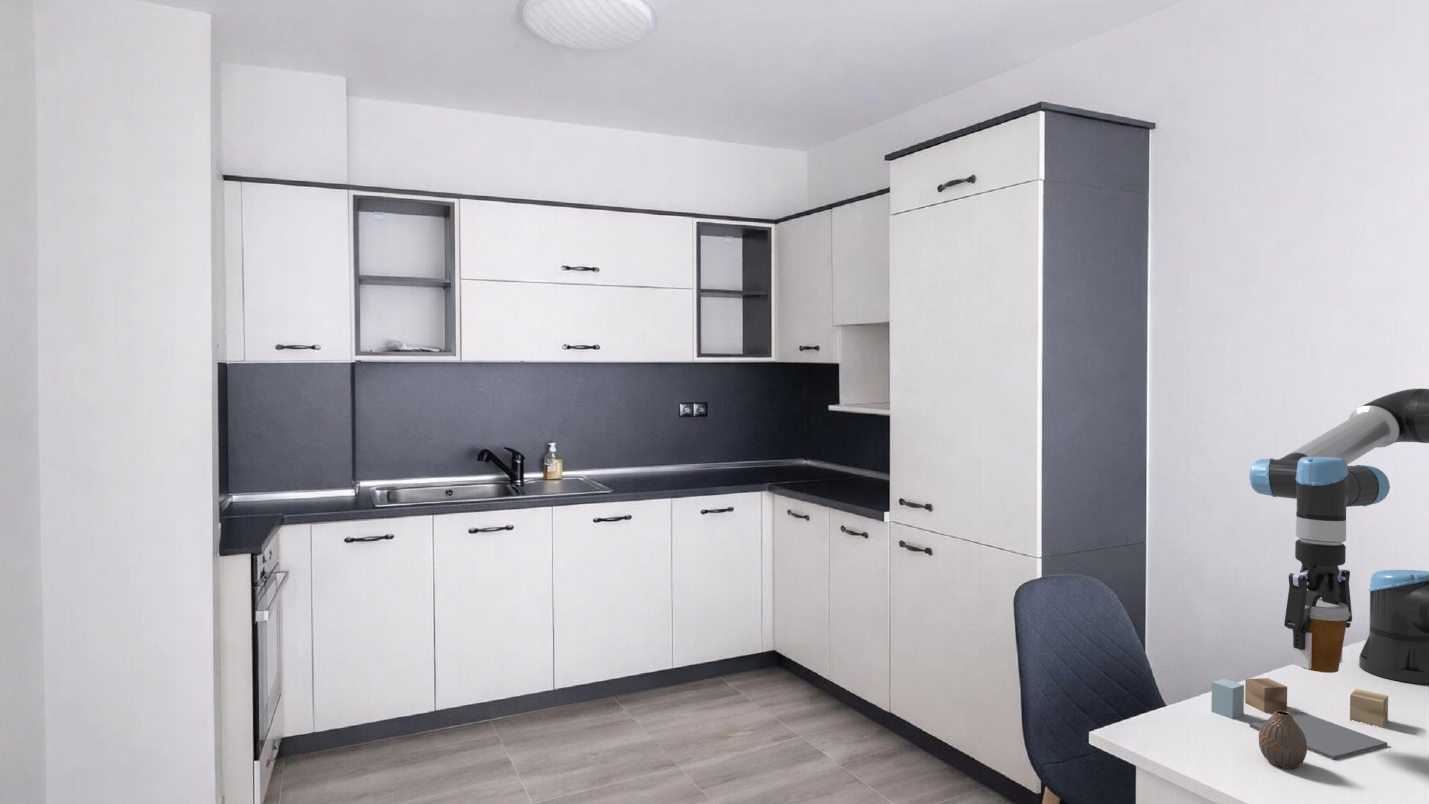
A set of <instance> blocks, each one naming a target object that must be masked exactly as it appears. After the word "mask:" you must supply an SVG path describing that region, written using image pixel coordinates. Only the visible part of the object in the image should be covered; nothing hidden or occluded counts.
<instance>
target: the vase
mask: <svg viewBox="0 0 1429 804" xmlns="http://www.w3.org/2000/svg"><path fill="white" fill-rule="evenodd" d="M1291 714H1292V713H1291V712H1289V711H1281V710H1277V711H1275V712H1273V713H1272V715H1271V716H1270V717H1269V718H1268V719H1266V720H1267V721H1266V722H1264V724H1263V725H1262V727H1261V729H1260V731H1259V732H1258V747H1259V749H1260V751H1261V752H1260V753H1261V754H1262V755H1263V757H1264V759H1266V760H1267V761H1268V762H1269V763H1270V764H1272V765H1274V766H1276V767H1279V768H1283V767H1284V768H1285V769H1295V768H1297V767H1299V766H1300V765H1301V764H1302V763H1304V761H1305V759H1306V756H1307V753H1308V750H1307V741H1306V738H1305V735H1304V733H1303V731H1302V730H1301V728H1300V727H1299V726H1298V724H1297V723H1296V722H1295V721H1294V719H1293V717H1292V715H1291Z"/></svg>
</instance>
